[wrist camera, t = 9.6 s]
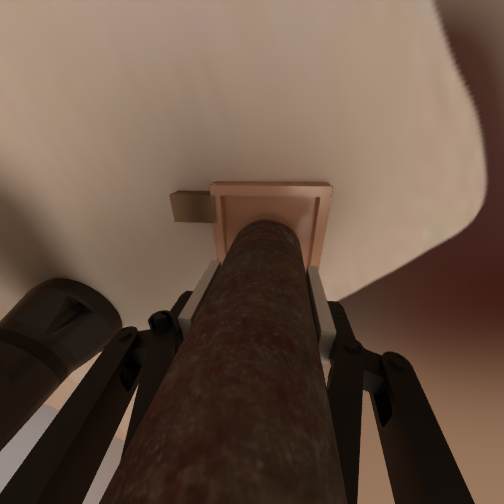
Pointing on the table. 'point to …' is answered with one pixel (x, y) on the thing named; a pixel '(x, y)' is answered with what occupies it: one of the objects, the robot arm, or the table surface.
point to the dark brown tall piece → (241, 394)
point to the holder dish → (272, 212)
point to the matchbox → (193, 206)
